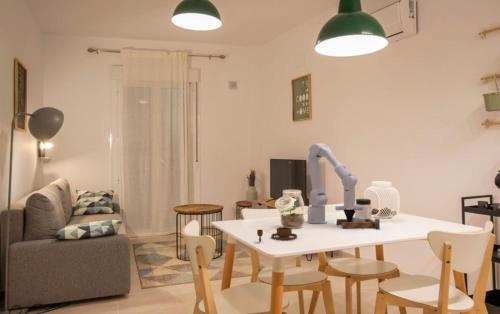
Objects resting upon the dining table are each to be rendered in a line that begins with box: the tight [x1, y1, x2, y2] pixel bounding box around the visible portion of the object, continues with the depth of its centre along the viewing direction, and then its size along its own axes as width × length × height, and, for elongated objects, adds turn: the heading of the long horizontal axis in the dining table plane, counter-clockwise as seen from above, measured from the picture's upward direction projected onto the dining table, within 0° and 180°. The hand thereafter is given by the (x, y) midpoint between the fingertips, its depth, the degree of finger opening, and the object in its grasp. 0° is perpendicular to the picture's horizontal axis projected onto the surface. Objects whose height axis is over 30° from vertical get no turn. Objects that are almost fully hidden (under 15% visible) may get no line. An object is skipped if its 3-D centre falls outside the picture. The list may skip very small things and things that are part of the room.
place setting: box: [256, 226, 298, 243], centre depth 191 cm, size 18×20×6 cm
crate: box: [352, 216, 365, 222], centre depth 219 cm, size 6×6×4 cm
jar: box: [354, 198, 372, 220], centre depth 238 cm, size 9×8×12 cm
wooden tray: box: [336, 218, 381, 230], centre depth 218 cm, size 19×14×5 cm
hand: (349, 223), depth 219 cm, fingers closed
